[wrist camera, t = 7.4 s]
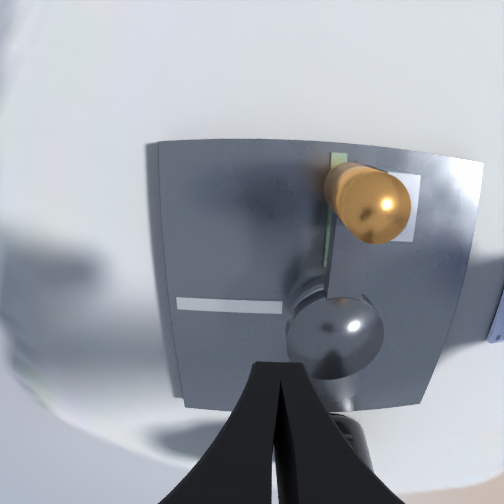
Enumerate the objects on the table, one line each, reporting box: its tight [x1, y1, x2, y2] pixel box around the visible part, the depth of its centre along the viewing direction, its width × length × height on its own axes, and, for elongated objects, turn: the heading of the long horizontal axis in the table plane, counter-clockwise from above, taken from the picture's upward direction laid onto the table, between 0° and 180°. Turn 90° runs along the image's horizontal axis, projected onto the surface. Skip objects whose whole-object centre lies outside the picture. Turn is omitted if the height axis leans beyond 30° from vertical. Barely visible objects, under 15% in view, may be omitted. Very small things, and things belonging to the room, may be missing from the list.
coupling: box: [286, 162, 411, 380], centre depth 13 cm, size 11×5×4 cm, turn 178°
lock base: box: [158, 139, 483, 412], centre depth 17 cm, size 18×18×4 cm
